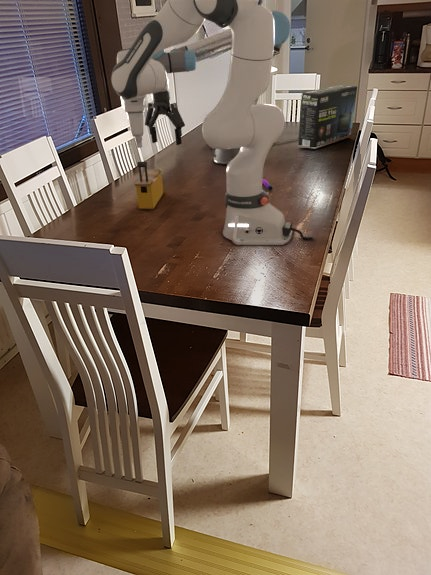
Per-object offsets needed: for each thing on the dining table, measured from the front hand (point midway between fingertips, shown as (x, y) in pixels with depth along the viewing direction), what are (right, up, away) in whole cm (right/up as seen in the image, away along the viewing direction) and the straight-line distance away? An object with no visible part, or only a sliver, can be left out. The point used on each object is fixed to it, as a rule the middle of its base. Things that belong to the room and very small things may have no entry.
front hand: (139, 144), depth 161 cm
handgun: (+44, -7, +31) cm, 55 cm away
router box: (+85, +27, +83) cm, 122 cm away
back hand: (+6, +12, +37) cm, 39 cm away
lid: (+1, -9, +13) cm, 16 cm away
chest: (+2, -17, +18) cm, 24 cm away
